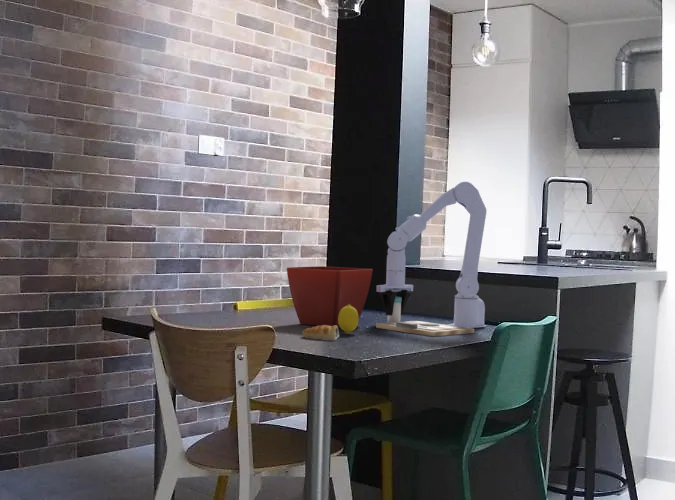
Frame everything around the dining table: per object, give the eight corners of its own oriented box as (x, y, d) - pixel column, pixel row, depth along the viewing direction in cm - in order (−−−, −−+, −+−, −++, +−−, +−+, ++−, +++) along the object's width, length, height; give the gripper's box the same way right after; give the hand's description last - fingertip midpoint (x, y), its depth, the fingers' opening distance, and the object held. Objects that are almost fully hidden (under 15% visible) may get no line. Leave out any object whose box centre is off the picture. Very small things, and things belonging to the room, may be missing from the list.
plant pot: (282, 324, 239) (284, 266, 238) (319, 319, 255) (321, 265, 254) (337, 330, 228) (339, 270, 228) (372, 325, 244) (374, 269, 244)
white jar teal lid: (393, 321, 253) (394, 296, 253) (403, 323, 250) (404, 297, 250) (384, 322, 251) (385, 296, 250) (394, 323, 248) (395, 297, 247)
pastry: (299, 339, 207) (300, 324, 207) (305, 336, 214) (305, 322, 214) (335, 341, 206) (336, 326, 206) (340, 338, 212) (340, 324, 212)
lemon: (356, 335, 217) (357, 305, 217) (335, 334, 218) (336, 304, 218) (359, 333, 223) (360, 304, 223) (339, 332, 224) (340, 303, 224)
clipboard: (416, 324, 250) (417, 316, 250) (474, 332, 234) (474, 324, 234) (375, 327, 238) (376, 319, 238) (433, 336, 222) (433, 327, 222)
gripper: (402, 269, 258) (400, 312, 258) (369, 270, 248) (368, 314, 248) (418, 271, 253) (417, 314, 253) (386, 271, 243) (385, 316, 243)
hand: (394, 314), depth 250 cm, fingers closed on white jar teal lid, 4 cm apart
